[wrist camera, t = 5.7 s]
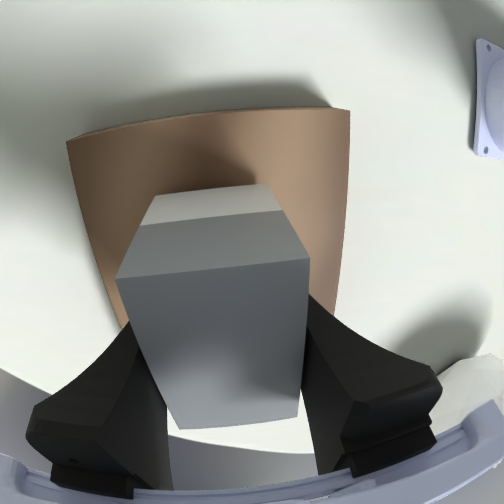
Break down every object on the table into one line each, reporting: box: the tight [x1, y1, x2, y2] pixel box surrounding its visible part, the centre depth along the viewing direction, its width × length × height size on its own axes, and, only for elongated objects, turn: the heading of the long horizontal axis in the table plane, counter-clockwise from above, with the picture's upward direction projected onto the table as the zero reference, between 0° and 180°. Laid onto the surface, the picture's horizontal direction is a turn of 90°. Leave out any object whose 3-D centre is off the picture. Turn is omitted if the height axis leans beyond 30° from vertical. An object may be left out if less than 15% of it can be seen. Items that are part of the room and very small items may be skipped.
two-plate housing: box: [115, 183, 310, 429], centre depth 11 cm, size 4×7×6 cm, turn 3°
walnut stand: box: [66, 107, 350, 329], centre depth 15 cm, size 12×14×2 cm
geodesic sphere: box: [429, 354, 504, 468], centre depth 22 cm, size 15×14×14 cm
